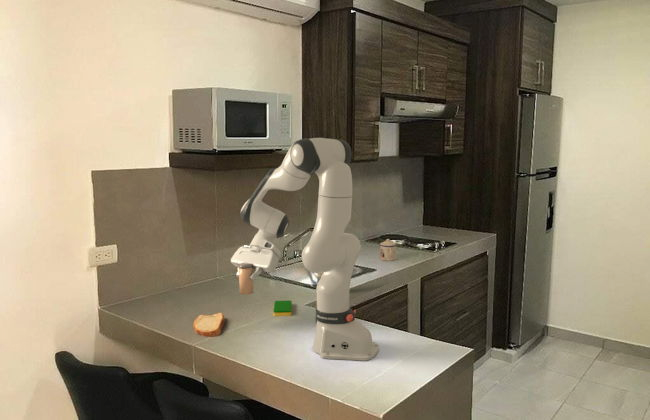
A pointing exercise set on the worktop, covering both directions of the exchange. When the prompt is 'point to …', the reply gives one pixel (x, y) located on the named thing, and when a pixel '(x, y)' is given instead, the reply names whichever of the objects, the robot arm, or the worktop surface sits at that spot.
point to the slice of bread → (209, 325)
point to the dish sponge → (283, 308)
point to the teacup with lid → (387, 250)
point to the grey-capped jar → (245, 278)
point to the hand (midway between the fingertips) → (244, 277)
